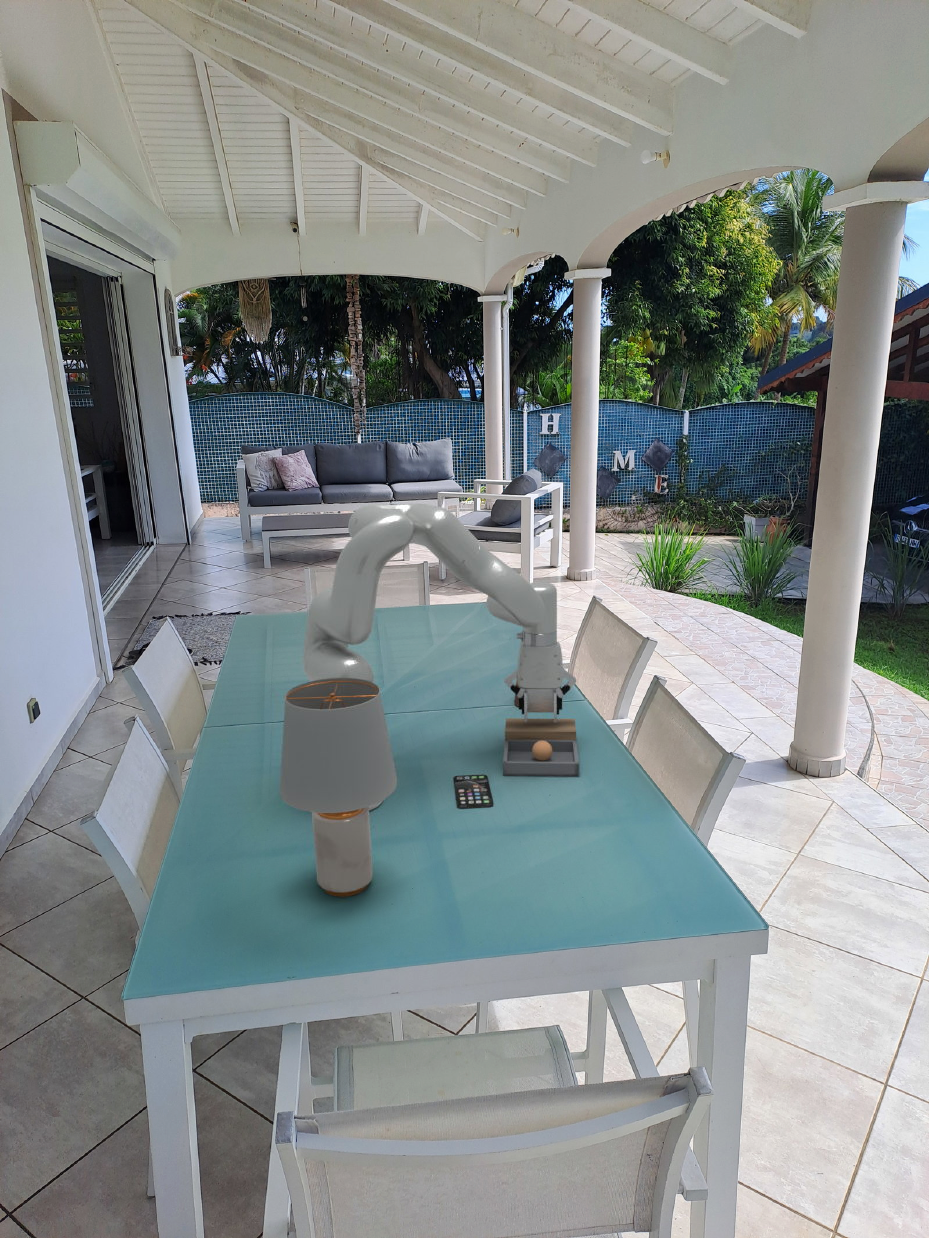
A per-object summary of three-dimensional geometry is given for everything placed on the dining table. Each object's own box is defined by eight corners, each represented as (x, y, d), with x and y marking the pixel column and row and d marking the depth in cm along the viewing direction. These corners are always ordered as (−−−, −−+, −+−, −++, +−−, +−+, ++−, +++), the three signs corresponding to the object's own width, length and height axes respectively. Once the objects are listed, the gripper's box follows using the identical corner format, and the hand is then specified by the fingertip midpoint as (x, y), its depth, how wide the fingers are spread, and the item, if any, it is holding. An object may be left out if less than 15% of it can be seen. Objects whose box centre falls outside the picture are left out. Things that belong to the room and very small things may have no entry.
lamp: (403, 851, 155) (395, 671, 146) (399, 913, 137) (389, 712, 128) (297, 856, 155) (282, 675, 146) (279, 918, 136) (261, 716, 128)
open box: (556, 722, 195) (556, 692, 193) (524, 722, 196) (524, 692, 194) (555, 711, 201) (555, 683, 199) (524, 711, 202) (524, 683, 200)
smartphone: (487, 774, 185) (494, 805, 171) (487, 776, 186) (494, 808, 171) (452, 775, 185) (456, 807, 170) (452, 778, 185) (456, 810, 171)
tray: (578, 776, 183) (578, 763, 182) (503, 775, 185) (503, 762, 184) (576, 752, 195) (576, 740, 195) (505, 751, 197) (505, 739, 196)
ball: (551, 750, 187) (552, 736, 190) (531, 749, 188) (532, 735, 191) (551, 765, 189) (553, 751, 193) (531, 764, 190) (533, 750, 194)
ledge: (576, 752, 195) (576, 731, 194) (505, 751, 197) (504, 731, 195) (574, 738, 203) (574, 718, 202) (506, 738, 204) (506, 718, 203)
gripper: (500, 642, 190) (501, 718, 195) (580, 642, 189) (579, 718, 193) (501, 633, 198) (502, 706, 202) (578, 633, 196) (577, 706, 201)
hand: (540, 711), depth 198 cm, fingers closed on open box, 7 cm apart
